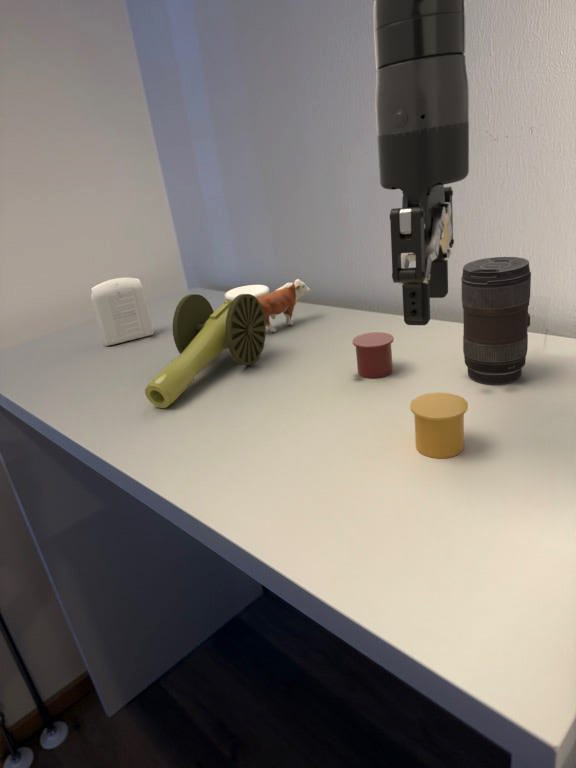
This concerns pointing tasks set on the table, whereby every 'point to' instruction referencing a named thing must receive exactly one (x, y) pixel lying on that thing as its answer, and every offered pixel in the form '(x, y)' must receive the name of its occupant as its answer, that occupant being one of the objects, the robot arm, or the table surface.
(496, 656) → the table surface
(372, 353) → the burgundy pod
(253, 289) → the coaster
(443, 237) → the robot arm
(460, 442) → the gold pod
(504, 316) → the camera lens
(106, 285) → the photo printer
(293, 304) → the bull figurine
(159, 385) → the cannon
